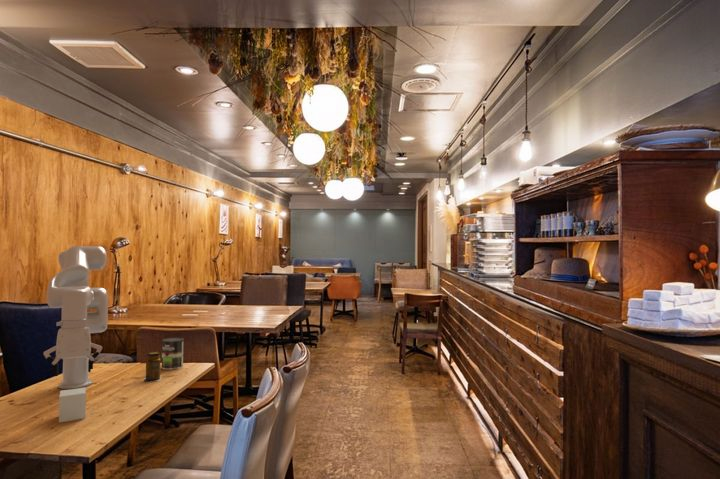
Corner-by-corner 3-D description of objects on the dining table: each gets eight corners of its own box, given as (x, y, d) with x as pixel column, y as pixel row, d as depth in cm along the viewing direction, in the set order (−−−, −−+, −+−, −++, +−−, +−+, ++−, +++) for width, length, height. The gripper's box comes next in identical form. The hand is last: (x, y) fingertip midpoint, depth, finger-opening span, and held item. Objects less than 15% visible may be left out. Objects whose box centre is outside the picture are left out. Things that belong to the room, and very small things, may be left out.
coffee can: (176, 370, 221) (176, 341, 221) (157, 369, 222) (157, 340, 223) (187, 365, 231) (187, 337, 231) (169, 364, 233) (169, 337, 233)
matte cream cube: (60, 415, 159) (60, 390, 159) (85, 411, 163) (85, 387, 163) (58, 422, 152) (59, 396, 153) (85, 418, 156) (85, 393, 157)
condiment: (160, 376, 210) (161, 350, 210) (161, 381, 202) (162, 354, 203) (143, 378, 207) (144, 352, 207) (143, 383, 199) (144, 356, 199)
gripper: (43, 328, 148) (42, 379, 148) (103, 323, 157) (102, 372, 157) (44, 324, 154) (43, 374, 154) (102, 320, 163) (101, 367, 163)
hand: (73, 373), depth 155 cm, fingers open, 9 cm apart
